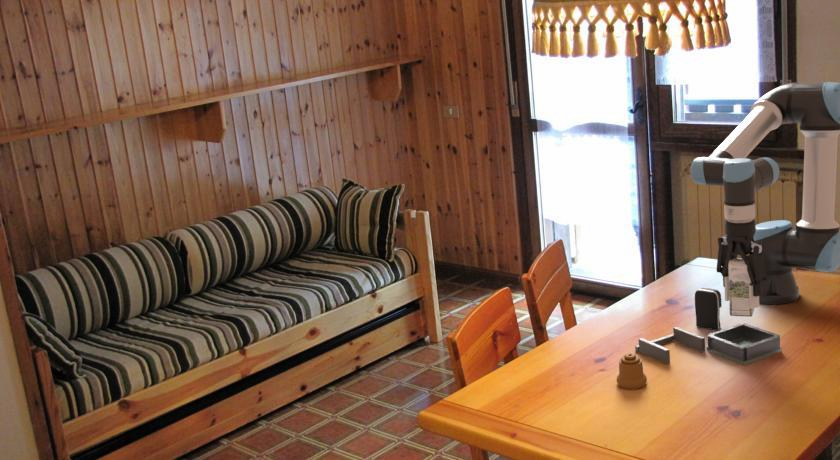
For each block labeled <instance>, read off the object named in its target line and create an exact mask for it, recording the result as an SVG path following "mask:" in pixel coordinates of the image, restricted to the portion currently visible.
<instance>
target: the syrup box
mask: <svg viewBox="0 0 840 460" xmlns="http://www.w3.org/2000/svg"><path fill="white" fill-rule="evenodd" d="M728 271H729V301H728V302H729V316H730V317H753V315H754V312H755V308H753V309H750V308H749V284H750V283H751V280H750V277H749V274H748V271H747V265H745V262H744V260H742V258H739V257H737V258H734V259H730V261H729V265H728Z"/></svg>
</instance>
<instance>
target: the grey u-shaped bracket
mask: <svg viewBox="0 0 840 460" xmlns="http://www.w3.org/2000/svg"><path fill="white" fill-rule="evenodd" d="M672 330H673V332H672V333H671V334H668V335H665V336H662V337H658V338H656V339H652V340H648V339H645V338H643V337H640V338H638V344H637V345H635V347H634V348H635V352H637V353H639V354H641V355H643V356H645V357H648V358H650V359H652V360H655V361H657V362H660V363H662V364H664V365H669V364H671V355H670V353H671V352H670V349H669V348H667V347H664V346H662V345H665V344H668V343H671V342H675V343H677V344H679V345H682V346H685V347H687V348H690V349H692V350H694V351H697V352H700V353H705V352H706V337H704V336H702V335H700V334H697V333H694V332H691V331H688V330H687V329H683V328H681V327H678V326H674V327H673V328H672Z"/></svg>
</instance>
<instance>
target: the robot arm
mask: <svg viewBox="0 0 840 460" xmlns="http://www.w3.org/2000/svg"><path fill="white" fill-rule="evenodd" d="M784 124H799V132H800V133H802V134H803V136H804V153H803V155H804V156H803V157H804V158H803V159H804V160H803V178H802V179H803V183H802V205H801V207H802V211H801V212H802V213H801V219H800V220H799V221H797V222H796V224H795V227H794V226H793V223H792V221H789V220H786V219H780V220H769V221H764V222H761V223H758V224H756V220H755V218H756V197H755V196H756V192H757V191H759V190H762V189H764V188H768V187H770V186H771V185H772V184H774V183H776V182H777V180H778V179H779V178H780V177H779V176H780V168H779V167H780V166H779V165H778V163H777V162H776V161H775V160H774V159H772V158H770V157H767V156H766V157H758V158H756V159H751V158H747V157H748V156H749V155H750V153H752V152H753V150H754V149H755V148H756V147H757V146H758V145H759V144H760V143H761V142H762V141H763V139H764V138H765V137H767V135H768V134H769V133H770V132H771V131H773V130H777V129H778V128H779V127H780V126H781V125H784ZM839 135H840V82H833V81H826V82H825V81H824V82H821V81H819V82H818V81H817V82H788V83H785V84H782V85H779V86H778V87H777V86H776V87H775V88H773V89H772V90H769V91H768V92H767V93H765V94H764V95H762V96H761V97H759V99H758V100H756V101H755V102H754V103H753V104H752V105H751V108H750V110H749V114H748V115H747V116H746V117H745V118H744V119H743V121H742V120H741V122H740V123H739V125H737V126H736V127H735V129H734V130H733V131H732V132H731V133H730V134H729V135H728V136H726V138H725V139H724V140H723V142H721V143H720V144H719V145H718V146H717V148H716V149H714V150H713V152H712V153H711V154H709V156H701V157H700V156H699V157H696V158H694V159H693V161H692V162H691V165H690V172H689V173H690V177H691V180H692V181H693V183H695V184H697V185H704V186H706V187H707V186H712V187H713V186H715V187H723V206H724V207H723V208H724V219H725V220H724V233H725V235H724V236H721V237H718V238H717V243H718V244H717V245H718V252H717V260H716V272H717V274H719V273H720V275H721V276H722V282H723V283H722V286H723V288H724V301H727V302H729V271H728V265H729V261H730V259H734V258H738V256H740V257H741V258H742V260H744V262H745V265H747V271H748V274H749V277H750V280H751V283H750V284H749V308H750V309H753V308H754V309H755V308H759V307H760V304H764V305H782V304H787V303H792V302H795V301H796V300H798V299H799V298H800V288H799V286H798V285H797V281H796V278H795V274H794V273H793V272H794V271H793V268H797V269H804V270H811V271H816V272H826V273H827V272H828V273H830V272H834V271H836V270H838V268H839V267H840V224H839V223H838V222H837V221H836V220H835V208H836V207H835V206H836V185H837V184H836V182H837V181H836V180H837V164H838V163H837V161H838V160H837V159H838V158H837V157H838V138H839Z"/></svg>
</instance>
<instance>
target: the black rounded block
mask: <svg viewBox="0 0 840 460" xmlns="http://www.w3.org/2000/svg"><path fill="white" fill-rule="evenodd" d="M694 307H695V317H696V318H695V322H696V323H695V325H696V327H698V328H702V329H707V330H715V331H719V330H720V328H721V321H720V320H721V319H720V309H721V308H722V294H721V292H720V291H719V290H718V289H714V288H708V287H707V288H706V287H701V288H699V289H697V290H695V293H694Z"/></svg>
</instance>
